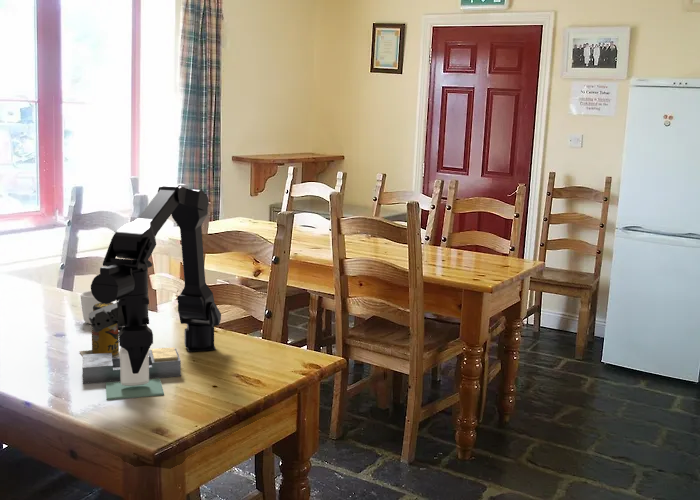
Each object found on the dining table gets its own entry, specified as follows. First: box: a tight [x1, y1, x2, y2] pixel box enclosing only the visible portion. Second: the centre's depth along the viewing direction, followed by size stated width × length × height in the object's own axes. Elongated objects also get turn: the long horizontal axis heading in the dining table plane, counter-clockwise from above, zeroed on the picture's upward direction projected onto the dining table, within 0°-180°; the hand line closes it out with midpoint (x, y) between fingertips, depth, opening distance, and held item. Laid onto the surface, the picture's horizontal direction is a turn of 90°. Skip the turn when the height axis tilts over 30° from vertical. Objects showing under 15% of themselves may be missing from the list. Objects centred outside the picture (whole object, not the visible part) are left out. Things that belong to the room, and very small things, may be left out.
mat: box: [105, 378, 165, 401], centre depth 149 cm, size 11×9×1 cm
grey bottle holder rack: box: [81, 347, 182, 385], centre depth 159 cm, size 20×9×4 cm, turn 109°
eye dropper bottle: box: [119, 346, 150, 386], centre depth 148 cm, size 4×6×12 cm
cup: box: [79, 290, 114, 325], centre depth 196 cm, size 11×8×8 cm
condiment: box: [78, 302, 120, 357], centre depth 170 cm, size 7×8×12 cm
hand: (134, 366), depth 148 cm, fingers closed on eye dropper bottle, 8 cm apart
